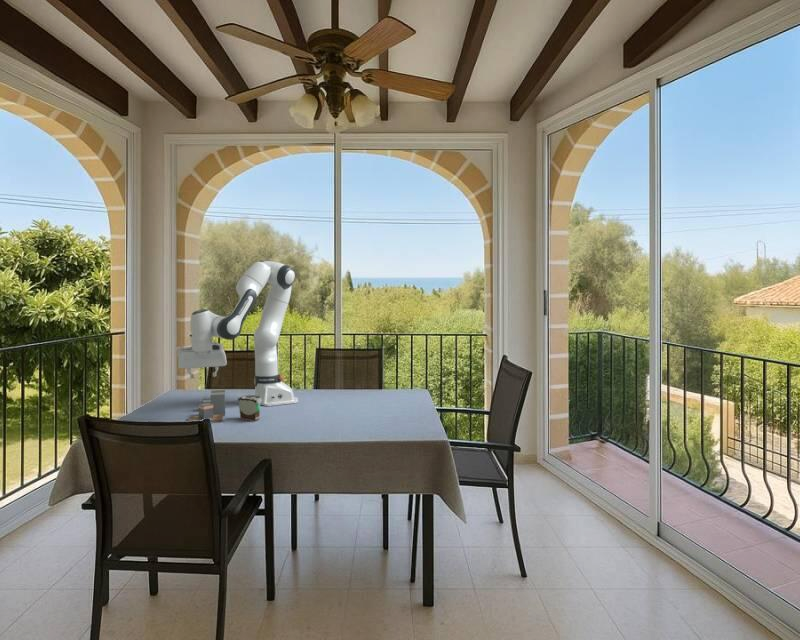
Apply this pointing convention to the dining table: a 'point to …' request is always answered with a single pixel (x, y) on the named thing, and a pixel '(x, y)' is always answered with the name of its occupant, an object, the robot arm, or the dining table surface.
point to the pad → (215, 418)
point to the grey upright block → (218, 401)
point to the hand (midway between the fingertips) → (203, 377)
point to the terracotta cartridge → (205, 410)
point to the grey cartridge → (206, 400)
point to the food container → (249, 407)
